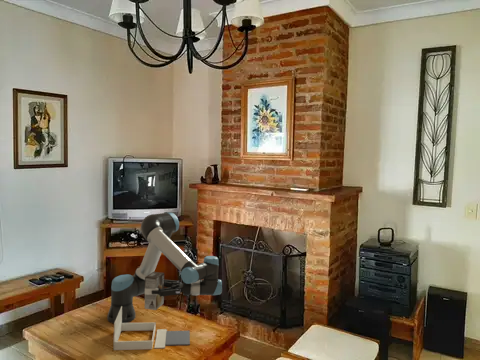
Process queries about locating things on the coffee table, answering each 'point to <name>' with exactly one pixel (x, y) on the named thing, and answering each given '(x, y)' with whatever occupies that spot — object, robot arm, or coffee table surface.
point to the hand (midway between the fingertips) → (146, 287)
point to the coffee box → (154, 282)
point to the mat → (177, 338)
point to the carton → (134, 327)
